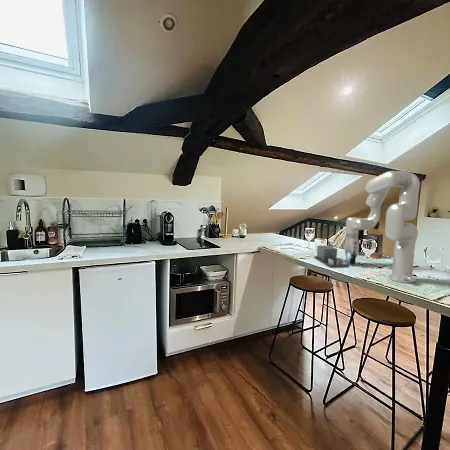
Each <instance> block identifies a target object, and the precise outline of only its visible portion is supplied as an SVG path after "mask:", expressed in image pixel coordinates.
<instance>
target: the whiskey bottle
mask: <svg viewBox="0 0 450 450" xmlns="http://www.w3.org/2000/svg"><path fill="white" fill-rule="evenodd" d="M379 220H380V219H379ZM379 220H378V222H377V224H376V225H375V227H374V228H372V229H368V230H366V240H367V239H373V240H375V241H376V243H377V247H376V250H375V252H374V253H373V254H371V255H370V257H372V258H371V259H375V258H376V259H375V260H377V259H378V260H379V259H381V258H383V241H384V240H383V238H384V235H385V230H382V229H381V228H380V222H379Z"/></svg>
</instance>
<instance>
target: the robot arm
mask: <svg viewBox="0 0 450 450" xmlns="http://www.w3.org/2000/svg"><path fill="white" fill-rule="evenodd" d="M391 188H402V189H401V190H400V193H399V196H398V202H396V203H393V204H390V206H388V208H387V210H386V214H385V224H384V225H385V226H384V235H385V236H386V238H387V240H389V241H391V242H395V243H394V246H393V255H392V257H393V258H392V269H391V274H388V279H390V280H391V281H394V282H397V283H403V284H404V283H405V284H412V283H416V281H417V278H416V277H414V273H413V270H414V263H415V262H414V260H415V259H414V258H415V249H416V244H417V240H418V237H419V236H418V235H419V229H418V228H417V226H416V225H415V224H413V223H410V222H407V221H412V220H414V219H416V218H417V213H418V204H419V192H420V178H419V177H418V176H417V175H416V174H414V173H412V172H409V171H404V170H388V171H385V172H383V173H382V174H380V175H377V176H375V177H373V178H371V179H369V180H368V181H367V183H366V185H365V191H366V192H367V194H368V196H367V198H366V200H365V204H366V206H368V207H369V208H370V212H369V214H368V216H367V217H365V218H362V217H354V216H353V217H352V216H351V217H347V218H346V221H345V222H346V223H345V224H346V225H345V242H344V252H345V260H346V259H347V252H348V253H351V258H350V264H354V265H356V259H357V256H358V253H359V243H360V242H358V241H359V238H358V230H364V231H365V230H366V231H367V230H369V229H372V228H374V227H375V225H376V224H377V222H378V220H380V219H381V206H382V204H383V202H384V200H385V198H386V197H387V195H388V193H389V192H390V189H391ZM353 254H354V255H353ZM359 254H360V253H359Z"/></svg>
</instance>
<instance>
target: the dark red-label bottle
mask: <svg viewBox="0 0 450 450" xmlns="http://www.w3.org/2000/svg"><path fill="white" fill-rule="evenodd" d="M361 218H366V217H365V216H362V217H361ZM364 238H365V230H358V242H359V254H360V253H362V252H361V250H362V249H361V239H364Z"/></svg>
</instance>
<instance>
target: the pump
mask: <svg viewBox="0 0 450 450" xmlns="http://www.w3.org/2000/svg"><path fill="white" fill-rule="evenodd" d="M353 255H354V254H353ZM350 258H351V253H348V252H347V259H346V258H345V264H347V265H348V266H355V264H350Z"/></svg>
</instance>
